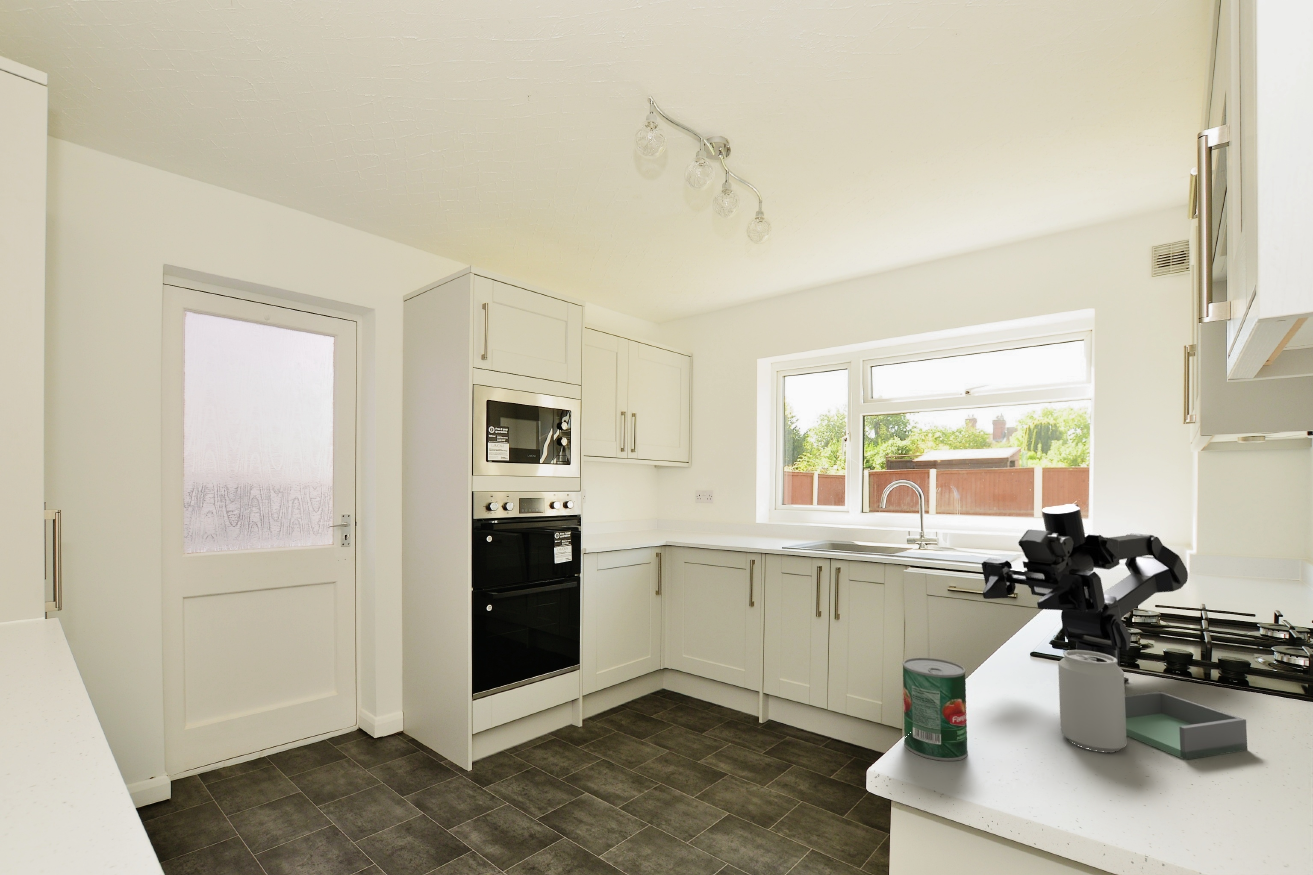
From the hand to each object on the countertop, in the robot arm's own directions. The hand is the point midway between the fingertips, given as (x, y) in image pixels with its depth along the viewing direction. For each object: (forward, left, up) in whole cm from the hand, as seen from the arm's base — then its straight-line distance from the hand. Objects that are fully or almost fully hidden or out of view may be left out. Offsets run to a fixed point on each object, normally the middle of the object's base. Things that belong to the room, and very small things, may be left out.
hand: (1010, 600), depth 102 cm
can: (+2, +15, -17) cm, 23 cm away
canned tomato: (+24, +11, -17) cm, 31 cm away
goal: (-11, +17, -16) cm, 26 cm away
